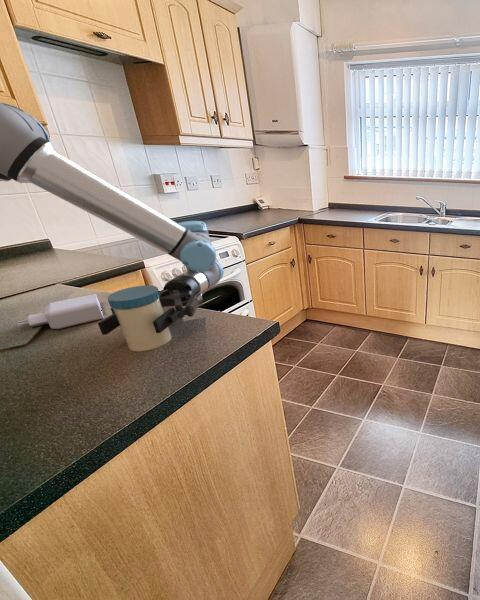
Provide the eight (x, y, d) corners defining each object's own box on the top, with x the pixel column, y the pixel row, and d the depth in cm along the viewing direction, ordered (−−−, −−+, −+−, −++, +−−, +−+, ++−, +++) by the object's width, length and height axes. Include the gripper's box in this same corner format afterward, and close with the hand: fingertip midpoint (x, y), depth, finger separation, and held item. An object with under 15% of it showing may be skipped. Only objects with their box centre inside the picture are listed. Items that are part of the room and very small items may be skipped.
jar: (125, 355, 71) (106, 305, 66) (131, 338, 77) (114, 292, 72) (170, 345, 74) (154, 297, 69) (172, 330, 81) (158, 285, 76)
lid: (106, 312, 66) (102, 304, 65) (114, 297, 73) (111, 289, 72) (158, 303, 70) (156, 295, 69) (162, 290, 77) (159, 282, 76)
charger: (23, 325, 83) (101, 308, 92) (20, 340, 77) (104, 319, 86) (14, 308, 81) (95, 292, 90) (10, 321, 75) (97, 302, 84)
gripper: (232, 300, 92) (190, 342, 71) (146, 302, 91) (79, 345, 70) (226, 274, 89) (180, 310, 68) (137, 275, 88) (64, 313, 67)
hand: (129, 328), depth 69 cm, fingers open, 10 cm apart
